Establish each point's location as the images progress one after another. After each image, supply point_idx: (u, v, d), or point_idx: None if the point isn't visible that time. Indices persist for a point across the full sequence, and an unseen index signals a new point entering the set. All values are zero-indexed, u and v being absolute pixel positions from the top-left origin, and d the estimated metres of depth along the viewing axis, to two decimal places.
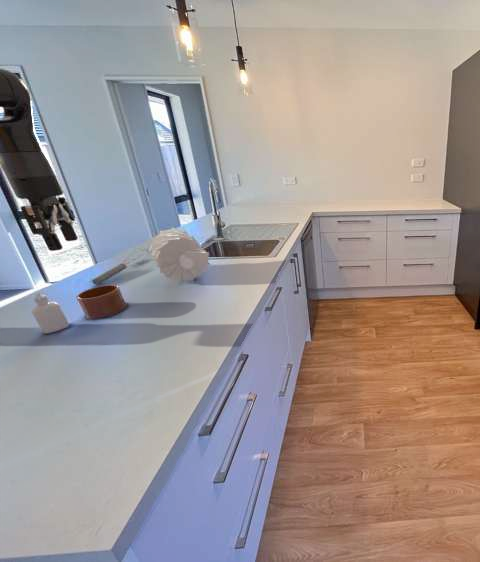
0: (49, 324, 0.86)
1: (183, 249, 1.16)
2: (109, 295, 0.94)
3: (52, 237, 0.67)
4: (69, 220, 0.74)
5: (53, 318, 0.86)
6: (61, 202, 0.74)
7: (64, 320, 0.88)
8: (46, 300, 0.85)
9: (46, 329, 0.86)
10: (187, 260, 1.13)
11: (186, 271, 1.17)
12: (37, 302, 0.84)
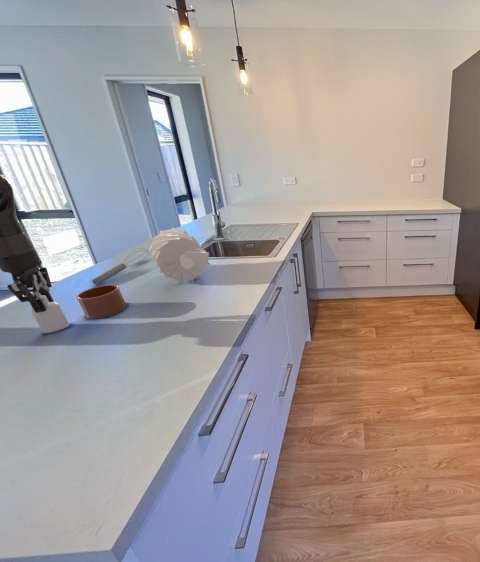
0: (49, 324, 0.86)
1: (183, 249, 1.16)
2: (109, 295, 0.94)
3: (38, 302, 0.82)
4: (46, 287, 0.86)
5: (53, 318, 0.86)
6: (42, 271, 0.87)
7: (64, 320, 0.88)
8: (46, 300, 0.85)
9: (46, 329, 0.86)
10: (187, 260, 1.13)
11: (186, 271, 1.17)
12: None
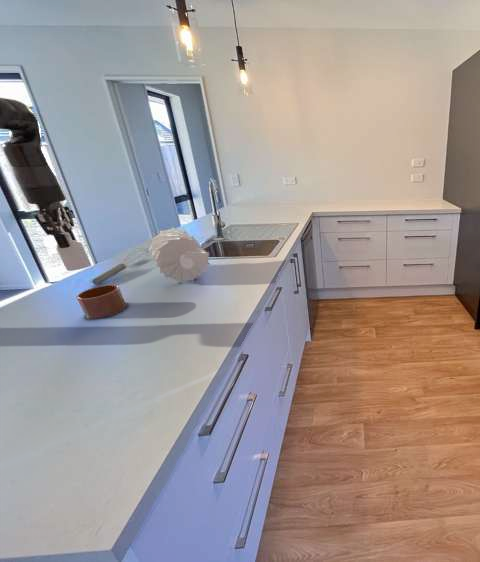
0: (72, 261, 0.88)
1: (183, 249, 1.16)
2: (109, 295, 0.94)
3: (62, 237, 0.84)
4: (69, 225, 0.88)
5: (76, 255, 0.88)
6: (65, 210, 0.88)
7: (86, 259, 0.90)
8: (69, 237, 0.87)
9: (69, 266, 0.88)
10: (187, 260, 1.13)
11: (186, 271, 1.17)
12: None
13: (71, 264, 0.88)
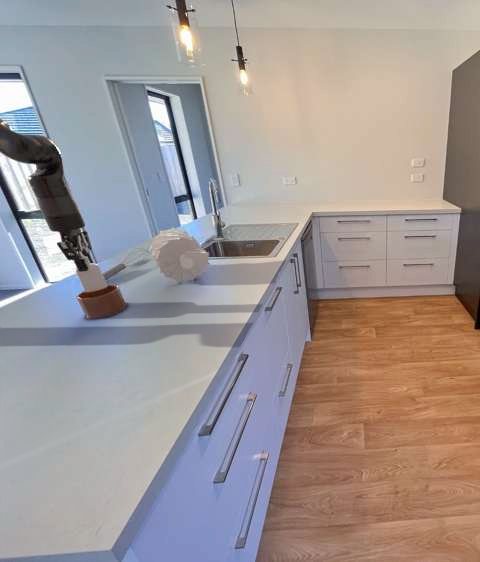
0: (90, 283, 0.92)
1: (183, 249, 1.16)
2: (109, 295, 0.94)
3: (81, 262, 0.88)
4: (88, 249, 0.92)
5: (94, 278, 0.93)
6: (83, 234, 0.93)
7: (103, 281, 0.95)
8: (88, 261, 0.91)
9: (87, 288, 0.92)
10: (187, 260, 1.13)
11: (186, 271, 1.17)
12: None
13: (89, 286, 0.92)
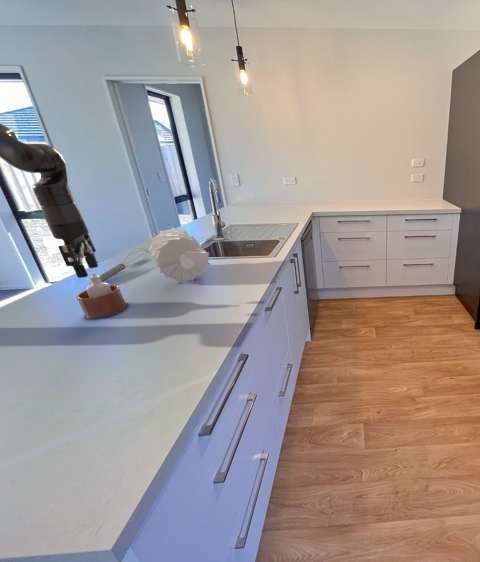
0: None
1: (183, 249, 1.16)
2: (109, 295, 0.94)
3: (81, 268, 0.87)
4: (92, 252, 0.94)
5: None
6: (86, 238, 0.94)
7: None
8: (99, 280, 0.95)
9: None
10: (187, 260, 1.13)
11: (186, 271, 1.17)
12: (92, 281, 0.94)
13: None
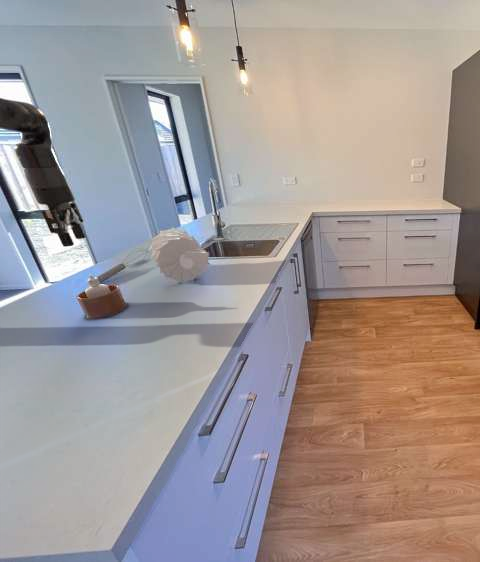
0: None
1: (183, 249, 1.16)
2: (109, 295, 0.94)
3: (66, 236, 0.83)
4: (79, 221, 0.90)
5: None
6: (72, 207, 0.90)
7: None
8: (98, 282, 0.94)
9: None
10: (187, 260, 1.13)
11: (186, 271, 1.17)
12: (90, 283, 0.93)
13: None
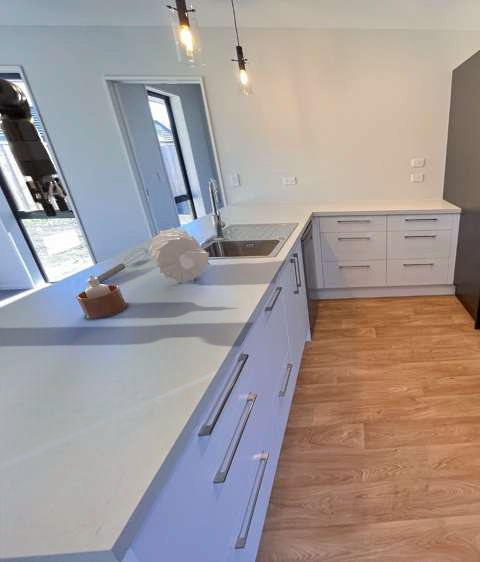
0: None
1: (183, 249, 1.16)
2: (109, 295, 0.94)
3: (49, 206, 0.89)
4: (62, 195, 0.96)
5: None
6: (56, 181, 0.95)
7: None
8: (97, 282, 0.94)
9: None
10: (187, 260, 1.13)
11: (186, 271, 1.17)
12: (90, 283, 0.93)
13: None
